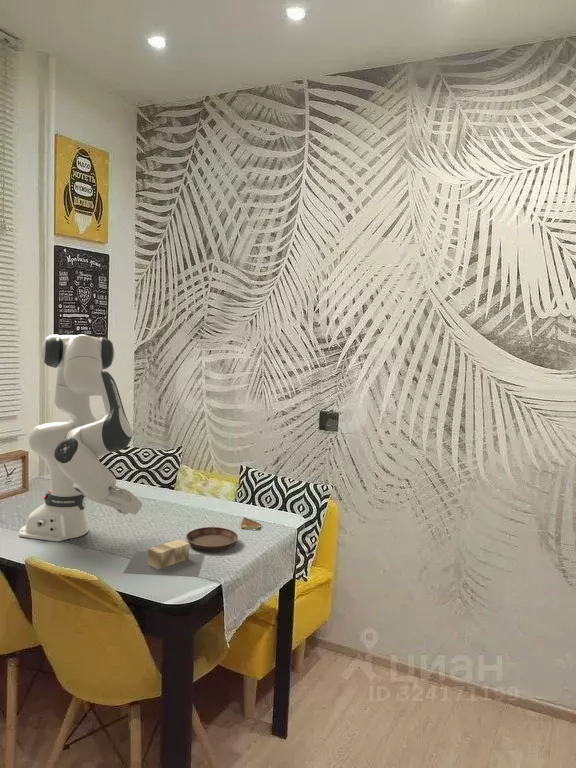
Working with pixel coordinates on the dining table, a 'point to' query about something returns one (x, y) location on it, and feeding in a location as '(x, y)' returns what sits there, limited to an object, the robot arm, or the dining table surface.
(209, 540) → the plant saucer
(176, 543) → the maple block
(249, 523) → the pie slice
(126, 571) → the rubber mat
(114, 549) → the dining table surface
